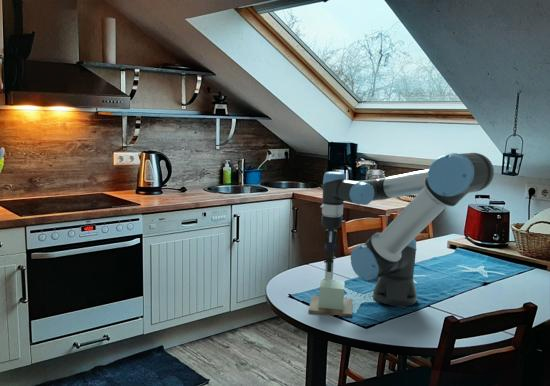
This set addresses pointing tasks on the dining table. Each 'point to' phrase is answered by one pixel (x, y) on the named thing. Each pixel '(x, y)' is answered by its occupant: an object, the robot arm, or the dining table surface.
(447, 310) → the dining table surface
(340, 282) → the sage block
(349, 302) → the walnut board
